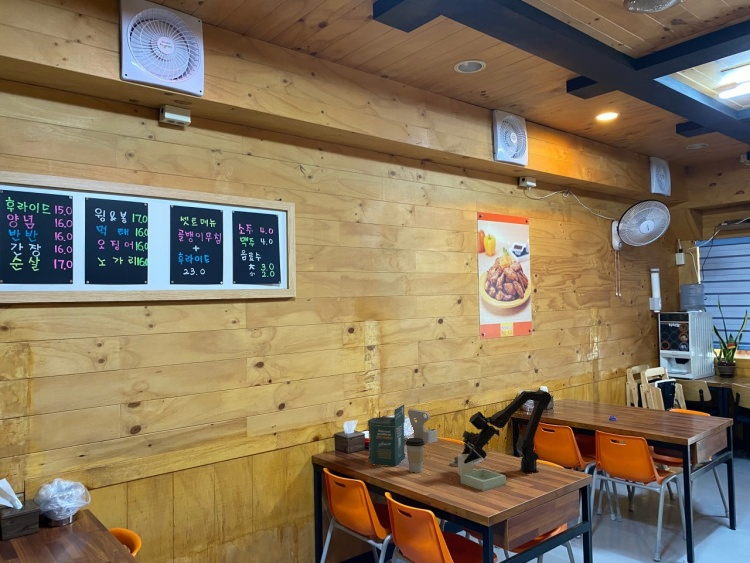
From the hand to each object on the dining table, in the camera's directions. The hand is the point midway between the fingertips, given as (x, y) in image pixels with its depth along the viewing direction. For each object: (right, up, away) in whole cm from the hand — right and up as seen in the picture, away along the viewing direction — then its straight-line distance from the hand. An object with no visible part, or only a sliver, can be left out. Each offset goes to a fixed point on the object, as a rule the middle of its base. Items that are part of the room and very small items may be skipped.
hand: (462, 461), depth 265 cm
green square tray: (+7, -6, -13) cm, 16 cm away
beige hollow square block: (+1, -7, 0) cm, 7 cm away
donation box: (-36, -8, +26) cm, 45 cm away
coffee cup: (-22, -7, +8) cm, 24 cm away
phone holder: (-13, -10, +70) cm, 72 cm away
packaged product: (+6, -8, +21) cm, 23 cm away
